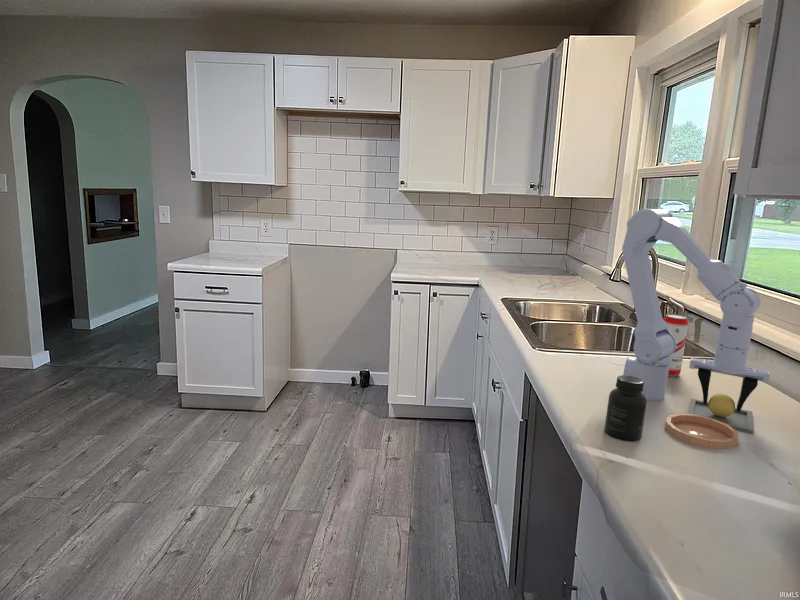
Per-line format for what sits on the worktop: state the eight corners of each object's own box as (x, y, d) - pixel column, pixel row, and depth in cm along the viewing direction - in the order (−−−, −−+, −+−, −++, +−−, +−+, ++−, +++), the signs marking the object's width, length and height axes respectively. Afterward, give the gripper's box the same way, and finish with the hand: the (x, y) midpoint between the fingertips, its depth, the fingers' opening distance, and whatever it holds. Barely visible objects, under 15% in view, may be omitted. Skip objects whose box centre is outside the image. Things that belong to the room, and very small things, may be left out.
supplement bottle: (648, 444, 105) (657, 385, 102) (615, 445, 104) (624, 385, 101) (628, 429, 111) (636, 372, 109) (597, 429, 110) (604, 373, 108)
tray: (685, 421, 117) (687, 415, 116) (690, 404, 127) (691, 398, 126) (752, 437, 111) (753, 430, 110) (751, 417, 121) (752, 411, 120)
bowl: (661, 439, 107) (663, 429, 107) (668, 418, 118) (670, 408, 117) (736, 458, 101) (738, 447, 100) (736, 434, 111) (738, 424, 111)
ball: (705, 416, 118) (709, 394, 117) (707, 409, 122) (711, 388, 121) (732, 423, 115) (736, 400, 114) (733, 415, 119) (737, 393, 118)
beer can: (684, 375, 147) (694, 317, 144) (671, 379, 144) (681, 319, 140) (662, 368, 152) (671, 312, 149) (649, 371, 149) (658, 314, 145)
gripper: (692, 343, 116) (682, 403, 118) (775, 357, 108) (761, 421, 111) (695, 336, 121) (685, 394, 124) (773, 349, 114) (760, 410, 117)
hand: (721, 406), depth 118 cm, fingers open, 6 cm apart
